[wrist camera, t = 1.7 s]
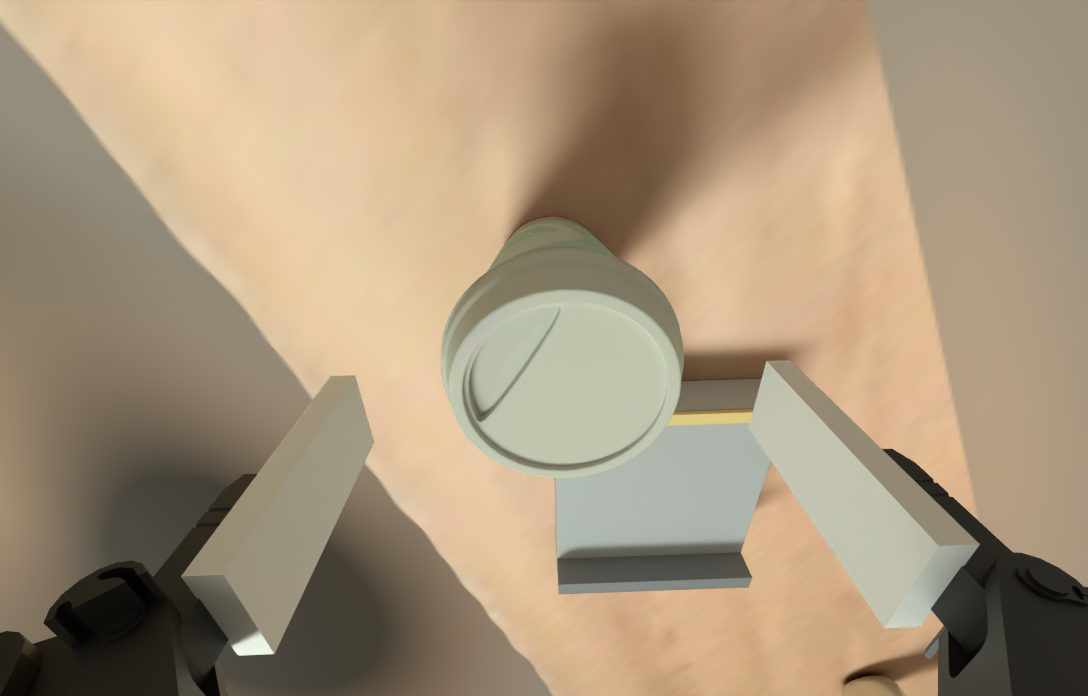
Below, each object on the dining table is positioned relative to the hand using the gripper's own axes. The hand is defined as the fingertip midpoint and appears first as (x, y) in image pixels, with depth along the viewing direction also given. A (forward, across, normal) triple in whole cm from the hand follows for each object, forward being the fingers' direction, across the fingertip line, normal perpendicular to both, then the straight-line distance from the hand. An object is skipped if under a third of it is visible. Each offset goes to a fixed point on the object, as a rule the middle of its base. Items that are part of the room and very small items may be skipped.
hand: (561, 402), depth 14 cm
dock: (+12, +7, -14) cm, 20 cm away
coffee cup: (+12, 0, 0) cm, 12 cm away
